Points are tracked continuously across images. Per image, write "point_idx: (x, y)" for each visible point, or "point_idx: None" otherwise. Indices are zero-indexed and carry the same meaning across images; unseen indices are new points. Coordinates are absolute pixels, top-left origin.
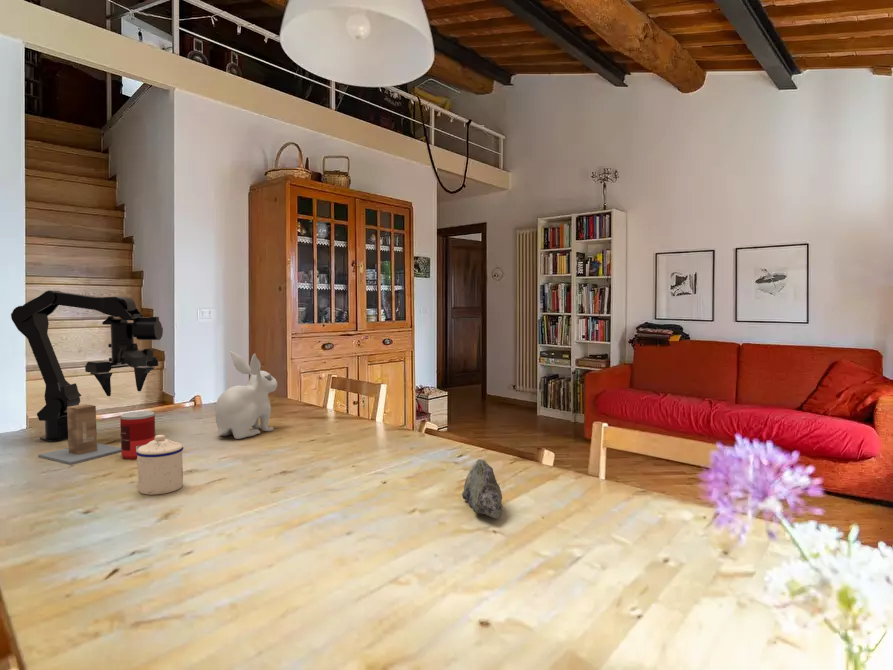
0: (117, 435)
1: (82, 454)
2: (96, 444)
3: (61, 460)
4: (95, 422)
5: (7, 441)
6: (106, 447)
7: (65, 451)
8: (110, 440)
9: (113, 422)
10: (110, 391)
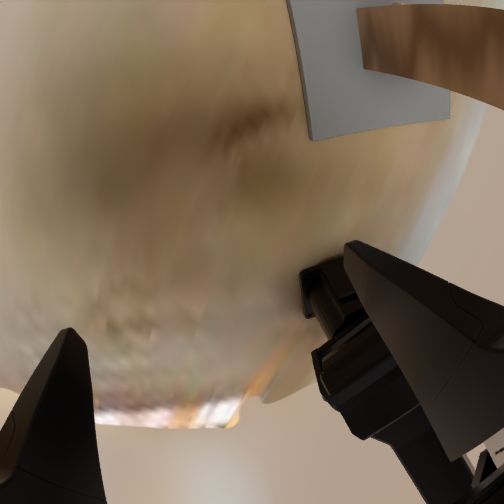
0: (192, 221)
1: None
2: (371, 7)
3: None
4: (438, 4)
5: None
6: (317, 20)
7: (411, 88)
8: (241, 156)
9: (158, 375)
10: (373, 259)
